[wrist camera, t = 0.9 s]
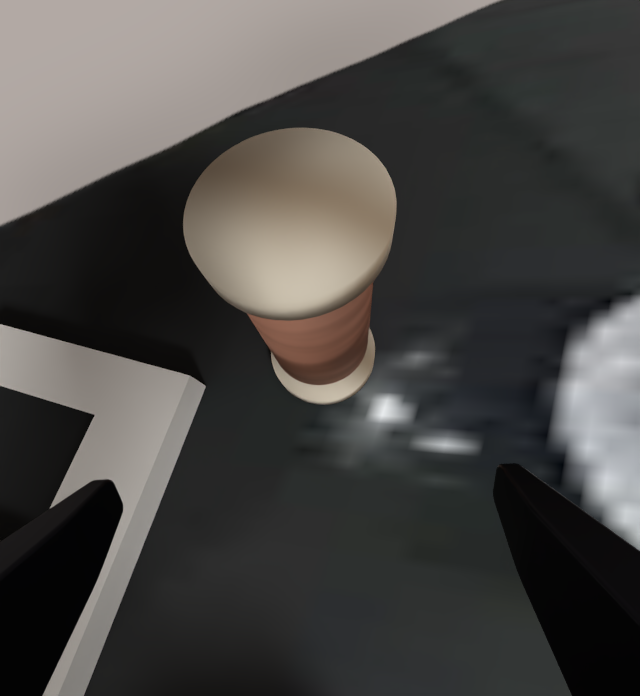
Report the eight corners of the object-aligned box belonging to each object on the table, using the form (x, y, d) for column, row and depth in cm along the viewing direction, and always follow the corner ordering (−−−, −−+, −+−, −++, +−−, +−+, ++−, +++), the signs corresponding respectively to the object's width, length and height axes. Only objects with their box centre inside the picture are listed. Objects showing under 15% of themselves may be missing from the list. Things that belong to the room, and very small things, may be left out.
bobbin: (360, 416, 23) (367, 325, 10) (261, 390, 24) (148, 276, 11) (384, 322, 25) (416, 141, 12) (291, 302, 26) (227, 116, 13)
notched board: (55, 768, 18) (10, 810, 16) (-178, 646, 21) (-245, 667, 19) (206, 386, 24) (190, 375, 22) (10, 332, 27) (-22, 318, 25)
